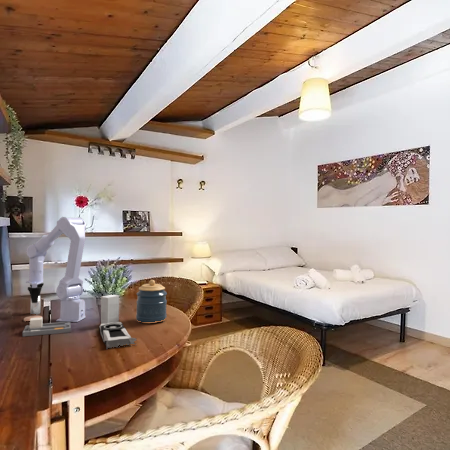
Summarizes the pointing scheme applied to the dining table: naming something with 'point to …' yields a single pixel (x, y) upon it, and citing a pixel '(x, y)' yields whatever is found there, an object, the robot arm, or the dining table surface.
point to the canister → (151, 302)
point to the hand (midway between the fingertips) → (35, 301)
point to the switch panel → (48, 329)
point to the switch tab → (36, 322)
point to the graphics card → (115, 335)
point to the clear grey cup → (36, 306)
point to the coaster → (31, 317)
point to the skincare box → (109, 309)
